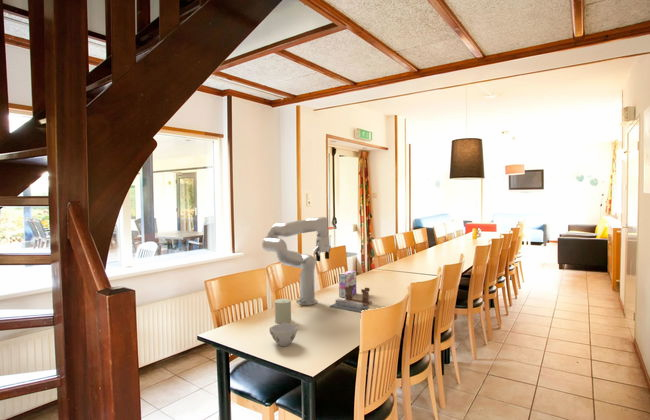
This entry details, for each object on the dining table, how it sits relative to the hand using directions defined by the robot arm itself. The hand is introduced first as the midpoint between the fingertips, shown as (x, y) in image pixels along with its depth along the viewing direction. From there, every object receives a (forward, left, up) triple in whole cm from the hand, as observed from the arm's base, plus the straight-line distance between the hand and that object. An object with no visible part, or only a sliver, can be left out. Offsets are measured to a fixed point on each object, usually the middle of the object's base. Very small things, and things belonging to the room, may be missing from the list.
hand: (322, 259), depth 247 cm
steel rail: (-11, -26, -25) cm, 38 cm away
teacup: (-75, -25, -26) cm, 83 cm away
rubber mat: (-11, -26, -26) cm, 38 cm away
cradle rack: (0, -26, -26) cm, 37 cm away
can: (-51, -6, -26) cm, 57 cm away
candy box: (+12, -13, -26) cm, 32 cm away
